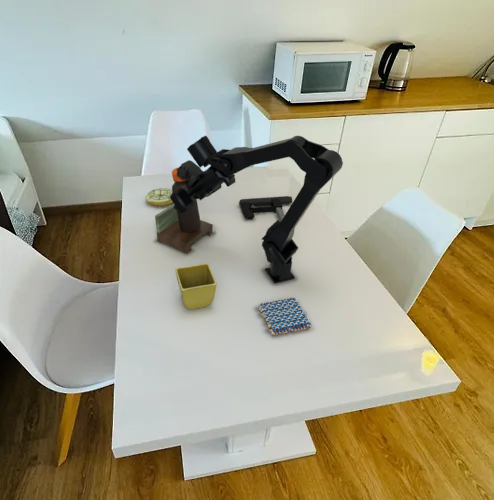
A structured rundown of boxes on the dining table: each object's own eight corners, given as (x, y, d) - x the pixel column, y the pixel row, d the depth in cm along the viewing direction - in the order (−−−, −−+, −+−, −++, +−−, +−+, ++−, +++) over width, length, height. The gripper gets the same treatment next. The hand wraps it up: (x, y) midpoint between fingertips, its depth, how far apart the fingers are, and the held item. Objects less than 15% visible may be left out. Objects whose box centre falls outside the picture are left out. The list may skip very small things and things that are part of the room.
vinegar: (178, 223, 127) (166, 168, 114) (198, 219, 128) (189, 163, 115) (182, 235, 121) (170, 178, 109) (203, 230, 122) (193, 173, 110)
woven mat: (294, 300, 103) (295, 295, 101) (312, 329, 94) (313, 324, 93) (257, 307, 100) (257, 301, 99) (272, 338, 92) (273, 332, 91)
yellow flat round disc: (148, 195, 150) (147, 186, 148) (176, 195, 151) (175, 186, 148) (144, 208, 142) (143, 199, 140) (174, 208, 142) (173, 199, 140)
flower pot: (182, 316, 97) (181, 289, 92) (176, 294, 104) (174, 267, 99) (216, 310, 99) (217, 283, 94) (208, 288, 106) (208, 262, 101)
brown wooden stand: (212, 233, 129) (212, 208, 123) (187, 253, 119) (185, 227, 114) (184, 222, 134) (183, 198, 129) (157, 241, 125) (154, 215, 119)
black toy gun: (303, 216, 134) (289, 192, 146) (246, 220, 131) (237, 196, 143) (302, 224, 136) (288, 200, 148) (246, 228, 133) (237, 203, 146)
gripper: (213, 145, 114) (185, 171, 126) (172, 166, 101) (145, 193, 113) (235, 176, 115) (205, 199, 127) (198, 201, 102) (168, 224, 114)
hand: (182, 203), depth 120 cm, fingers closed on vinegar, 7 cm apart
